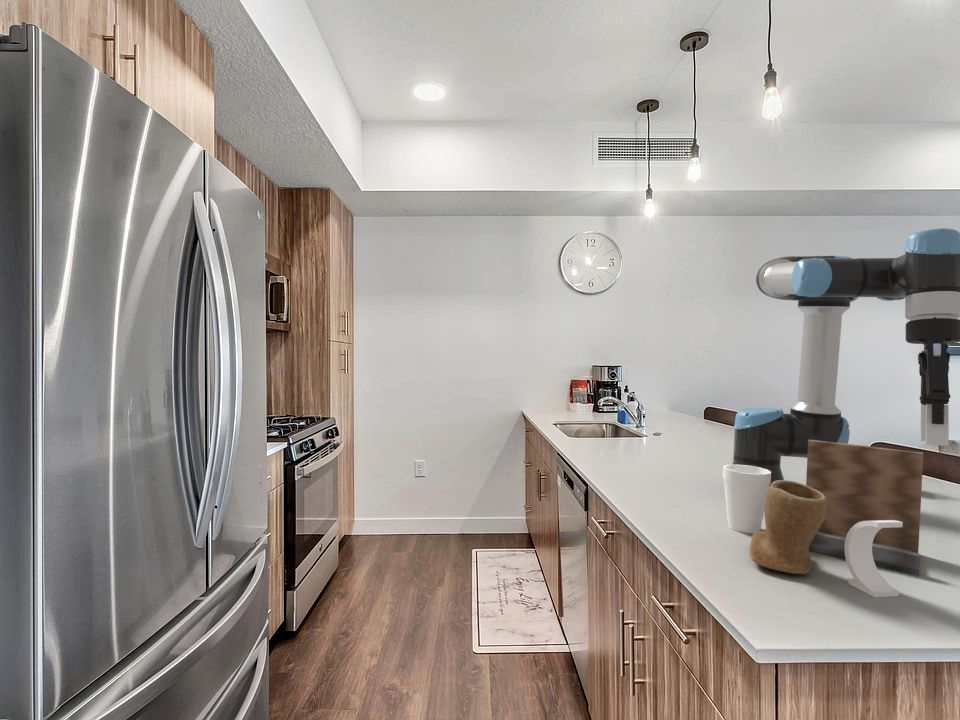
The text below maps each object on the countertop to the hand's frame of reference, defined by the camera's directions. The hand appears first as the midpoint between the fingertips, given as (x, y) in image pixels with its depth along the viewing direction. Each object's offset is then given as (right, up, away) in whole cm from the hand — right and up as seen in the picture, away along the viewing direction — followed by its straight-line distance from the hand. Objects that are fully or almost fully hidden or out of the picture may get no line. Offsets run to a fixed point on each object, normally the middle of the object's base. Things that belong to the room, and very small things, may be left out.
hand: (933, 443), depth 90 cm
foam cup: (-19, -23, +26) cm, 40 cm away
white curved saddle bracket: (-13, -24, -3) cm, 27 cm away
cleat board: (-3, -23, +14) cm, 28 cm away
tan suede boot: (-21, -23, +7) cm, 32 cm away
